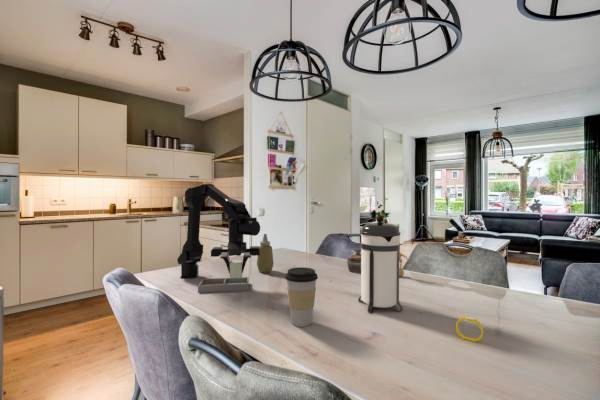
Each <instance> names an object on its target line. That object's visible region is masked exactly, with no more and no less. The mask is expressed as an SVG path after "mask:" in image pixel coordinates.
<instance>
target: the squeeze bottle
mask: <svg viewBox="0 0 600 400" xmlns="http://www.w3.org/2000/svg"><path fill="white" fill-rule="evenodd" d="M258 246H259V247H260V255H257V258H256V266H257V270H258V272H259V273H263V274H264V273H270V272H272V271H273V268H274V267H273V266H274V255H273V254H274V253H273V247H272V245H271V241H270V240H268V235H267V233H264V234H263V237H262V240H261V241H260V245H258Z"/></svg>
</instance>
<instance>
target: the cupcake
mask: <svg viewBox="0 0 600 400" xmlns="http://www.w3.org/2000/svg"><path fill="white" fill-rule="evenodd" d="M346 263H347V269H348V271H349V272H350V273H354V274H361V249H356V250H355V249H353V250H351V253H350V254H349V256H348V258H347V260H346Z"/></svg>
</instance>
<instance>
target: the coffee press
mask: <svg viewBox="0 0 600 400" xmlns="http://www.w3.org/2000/svg"><path fill="white" fill-rule="evenodd" d="M376 221H377V222H373V223H372V222H371V223H367V224H366V223H365V224H364V225H363V226H362V228H361V229H360V230H359V233H360V235H361V237H360V238H361V239H360V250H361V273H360V296H359V297H358V303H365V304H366V305H368V307H367V312H368V313H370V314H374V311H375V309H376V308H381V309H382V308H383V309H384V308H385V309H386V308H387V309H388V308H391V307H392V308H394V309H395V311H396V312H398V313H400V312H401V311H403V306H402V304H401V303H400V277H399V268H400V261H399V251H400V250H401V244H400V237H401V231H400V230H399V227H398V226H396V225H394V224H391V223H385V222H384V217H383V216H382V215H378V216H377V217H376ZM396 305H397V306H398V307H399V308H398V307H397V306H396Z"/></svg>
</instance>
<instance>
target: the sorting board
mask: <svg viewBox="0 0 600 400" xmlns="http://www.w3.org/2000/svg"><path fill="white" fill-rule="evenodd" d="M249 279H250V277H249V276H248V277H247V276H246V277H244V276H242V278H230V277H222V278H220V277H219V278H218V277H217V278H202V279H201V281H200V282H199V284H198V286H197V292H198V293H199V294H200V293H217V292H218V293H222V292H238V291H239V292H241V291H242V292H243V291H249V284H250V281H249Z"/></svg>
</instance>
